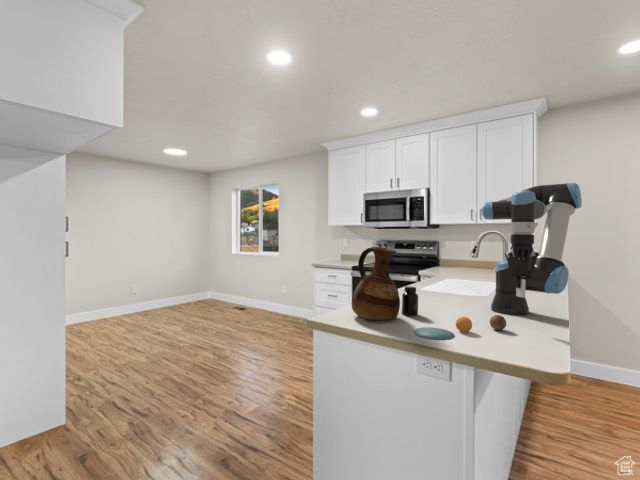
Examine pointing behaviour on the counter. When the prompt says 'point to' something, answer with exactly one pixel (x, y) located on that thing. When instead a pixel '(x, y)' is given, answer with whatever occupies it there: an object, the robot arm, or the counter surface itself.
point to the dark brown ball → (498, 322)
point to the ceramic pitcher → (376, 288)
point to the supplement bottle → (410, 301)
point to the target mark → (433, 333)
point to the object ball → (463, 324)
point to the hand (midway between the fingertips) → (520, 296)
